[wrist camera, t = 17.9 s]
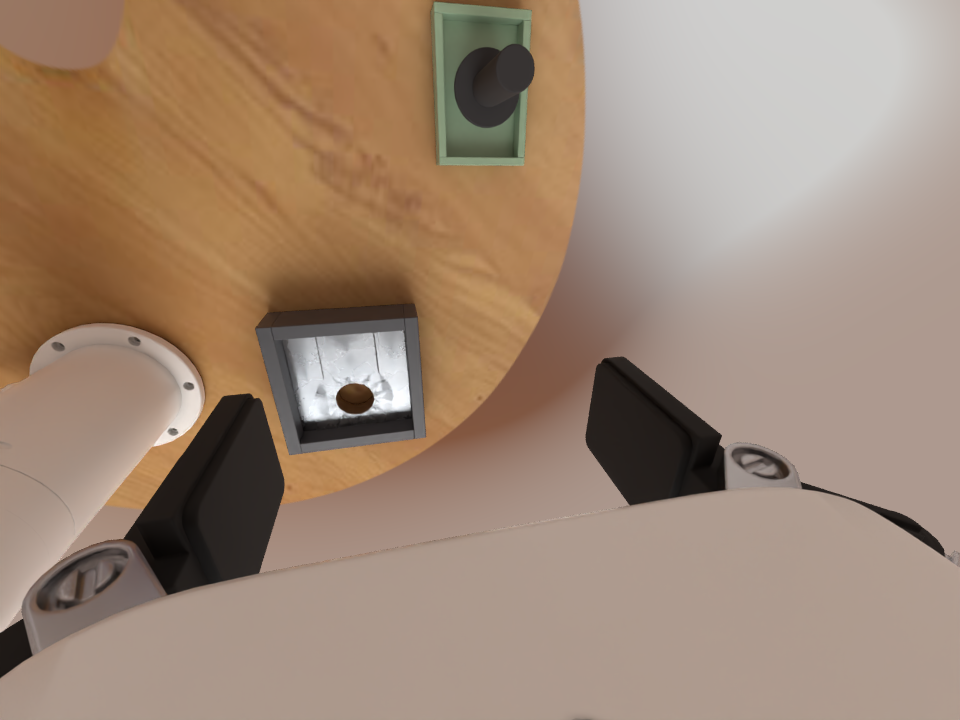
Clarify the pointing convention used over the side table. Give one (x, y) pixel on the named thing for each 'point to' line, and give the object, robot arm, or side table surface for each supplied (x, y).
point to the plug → (492, 83)
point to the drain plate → (349, 378)
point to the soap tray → (451, 43)
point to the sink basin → (334, 324)
